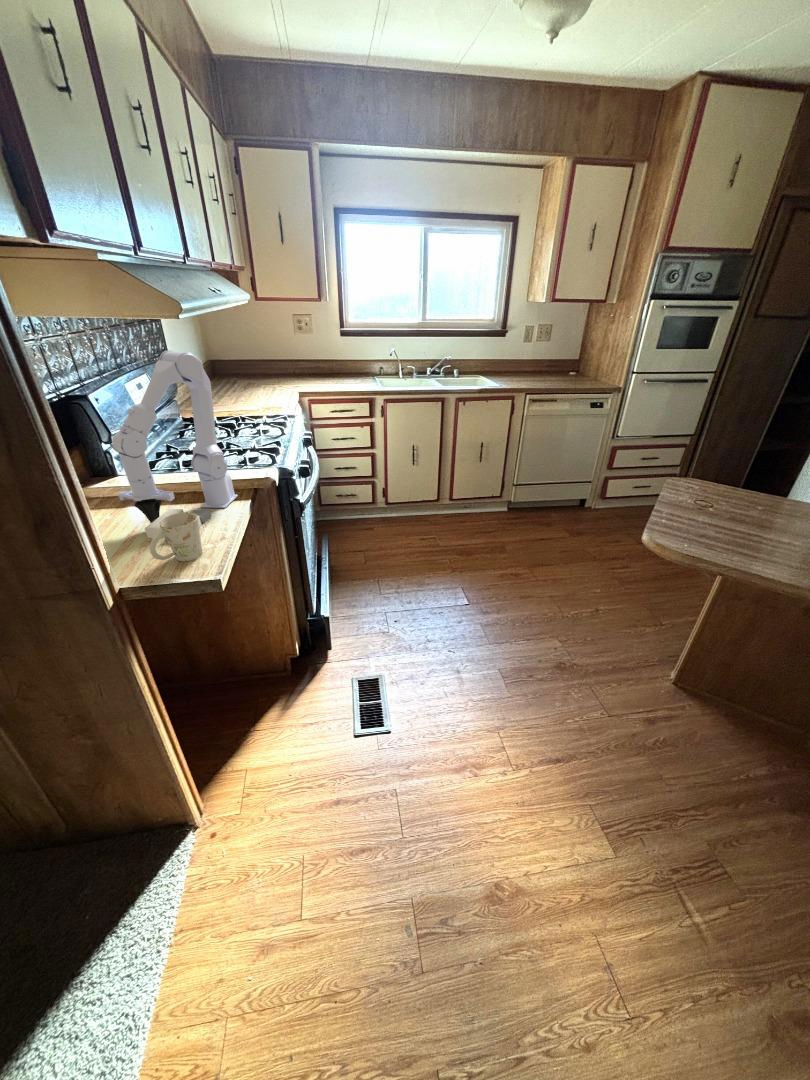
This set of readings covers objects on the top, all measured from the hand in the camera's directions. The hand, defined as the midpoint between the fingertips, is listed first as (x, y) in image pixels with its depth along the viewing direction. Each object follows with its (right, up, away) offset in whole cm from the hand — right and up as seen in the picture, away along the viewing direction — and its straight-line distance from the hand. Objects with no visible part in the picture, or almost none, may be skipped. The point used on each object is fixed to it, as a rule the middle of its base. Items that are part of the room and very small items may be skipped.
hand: (155, 523), depth 120 cm
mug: (+15, -10, -14) cm, 23 cm away
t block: (+6, -1, 0) cm, 6 cm away
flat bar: (+10, -2, 0) cm, 10 cm away
